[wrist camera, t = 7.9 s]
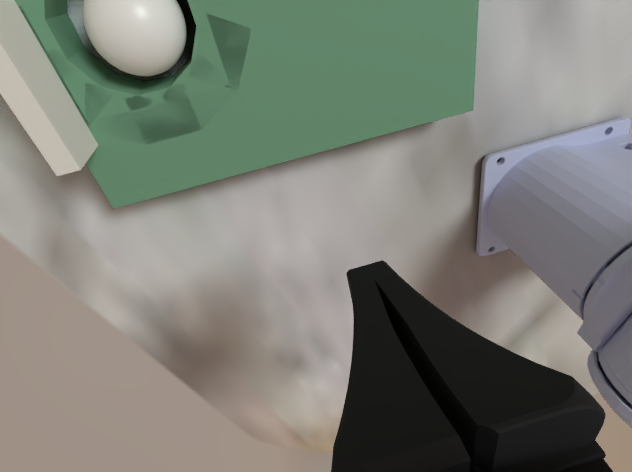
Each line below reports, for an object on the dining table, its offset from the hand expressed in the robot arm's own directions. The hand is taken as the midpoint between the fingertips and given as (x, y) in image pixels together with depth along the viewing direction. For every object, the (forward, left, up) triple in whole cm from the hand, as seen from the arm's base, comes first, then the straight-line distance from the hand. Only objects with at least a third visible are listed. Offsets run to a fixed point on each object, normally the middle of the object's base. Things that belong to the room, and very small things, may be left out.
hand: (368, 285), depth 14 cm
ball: (+6, -9, -8) cm, 13 cm away
